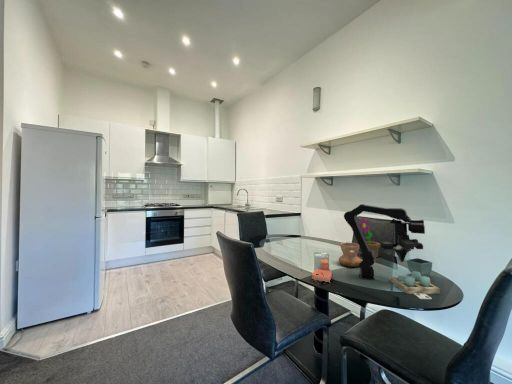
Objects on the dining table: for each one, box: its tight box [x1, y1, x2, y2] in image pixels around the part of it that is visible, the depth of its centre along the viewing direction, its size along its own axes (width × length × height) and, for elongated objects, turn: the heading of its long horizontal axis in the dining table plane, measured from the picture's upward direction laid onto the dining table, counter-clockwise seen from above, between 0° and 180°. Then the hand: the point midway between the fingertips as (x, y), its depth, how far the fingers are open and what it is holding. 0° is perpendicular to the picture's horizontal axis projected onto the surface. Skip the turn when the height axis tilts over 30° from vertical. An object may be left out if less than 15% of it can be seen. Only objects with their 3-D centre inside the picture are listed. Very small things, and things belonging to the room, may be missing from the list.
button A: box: [397, 274, 406, 281], centre depth 117 cm, size 4×4×4 cm
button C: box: [410, 271, 421, 282], centre depth 116 cm, size 4×4×4 cm
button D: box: [420, 276, 431, 287], centre depth 109 cm, size 4×4×4 cm
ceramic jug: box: [338, 241, 363, 268], centre depth 151 cm, size 18×14×14 cm
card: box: [413, 293, 433, 300], centre depth 103 cm, size 5×5×1 cm
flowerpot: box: [358, 216, 381, 258], centre depth 169 cm, size 14×14×30 cm
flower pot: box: [406, 257, 433, 277], centre depth 127 cm, size 9×9×9 cm
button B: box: [404, 275, 415, 287], centre depth 110 cm, size 4×4×4 cm
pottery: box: [311, 257, 333, 284], centre depth 130 cm, size 18×10×10 cm, turn 153°
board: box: [389, 276, 441, 295], centre depth 113 cm, size 15×15×2 cm
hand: (401, 261), depth 117 cm, fingers closed
